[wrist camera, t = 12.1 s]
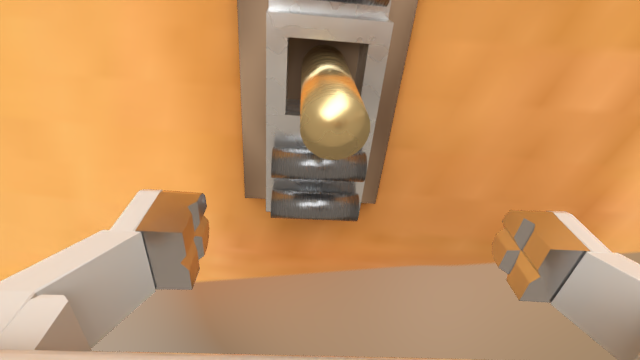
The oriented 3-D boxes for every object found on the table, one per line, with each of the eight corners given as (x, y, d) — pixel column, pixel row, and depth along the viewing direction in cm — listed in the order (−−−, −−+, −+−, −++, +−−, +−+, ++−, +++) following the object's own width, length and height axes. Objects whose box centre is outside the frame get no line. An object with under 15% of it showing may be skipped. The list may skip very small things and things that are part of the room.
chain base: (438, -135, 19) (448, -142, 18) (372, 193, 31) (375, 203, 29) (235, -160, 18) (230, -170, 17) (247, 187, 30) (245, 197, 28)
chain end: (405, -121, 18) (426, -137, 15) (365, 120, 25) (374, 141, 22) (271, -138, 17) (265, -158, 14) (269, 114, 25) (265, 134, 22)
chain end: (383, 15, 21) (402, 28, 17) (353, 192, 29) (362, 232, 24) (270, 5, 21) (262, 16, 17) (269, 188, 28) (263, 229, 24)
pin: (348, 46, 22) (375, 97, 14) (343, 91, 24) (364, 161, 15) (302, 42, 22) (301, 92, 14) (300, 88, 24) (298, 158, 15)
